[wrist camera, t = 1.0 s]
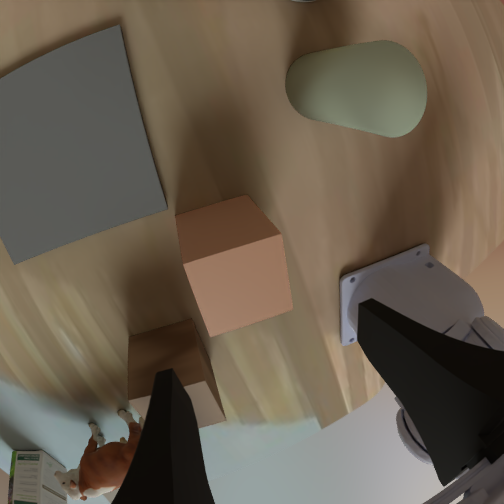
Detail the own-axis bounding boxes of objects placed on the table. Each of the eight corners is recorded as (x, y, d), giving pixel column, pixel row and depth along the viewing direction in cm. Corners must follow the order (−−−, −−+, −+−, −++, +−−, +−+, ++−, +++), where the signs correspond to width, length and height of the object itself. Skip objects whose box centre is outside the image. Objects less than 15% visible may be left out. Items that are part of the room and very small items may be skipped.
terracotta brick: (246, 194, 19) (281, 233, 14) (259, 256, 21) (293, 309, 16) (175, 215, 19) (183, 264, 13) (195, 276, 21) (210, 337, 16)
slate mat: (120, 26, 13) (119, 24, 12) (167, 205, 18) (167, 209, 18) (-38, 106, 11) (-43, 107, 10) (17, 260, 16) (14, 264, 16)
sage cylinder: (343, 51, 16) (420, 43, 10) (353, 115, 18) (429, 132, 13) (279, 56, 16) (342, 39, 10) (292, 125, 18) (357, 144, 12)
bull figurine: (51, 427, 24) (46, 493, 17) (152, 396, 25) (161, 476, 18) (78, 446, 26) (78, 507, 20) (176, 418, 27) (190, 490, 20)
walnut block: (191, 317, 22) (205, 380, 17) (210, 361, 25) (226, 420, 20) (128, 336, 22) (128, 400, 16) (154, 377, 24) (160, 437, 19)
